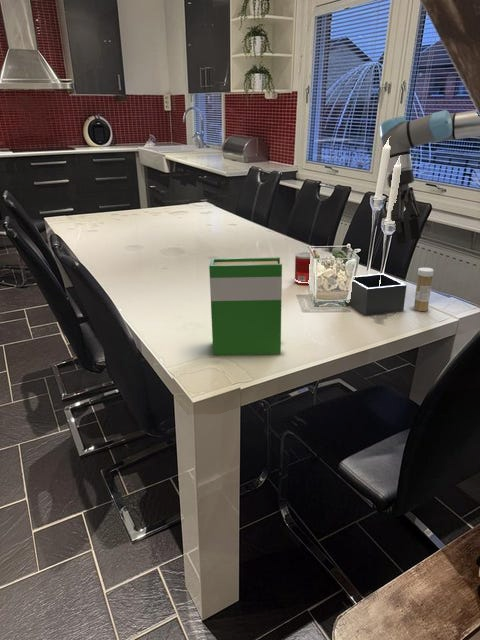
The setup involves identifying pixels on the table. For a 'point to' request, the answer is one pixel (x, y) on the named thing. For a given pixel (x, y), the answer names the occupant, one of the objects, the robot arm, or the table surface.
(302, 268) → the canned food
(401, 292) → the black open box
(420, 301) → the sprinkles bottle
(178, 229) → the table surface
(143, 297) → the table surface
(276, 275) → the hardback book
